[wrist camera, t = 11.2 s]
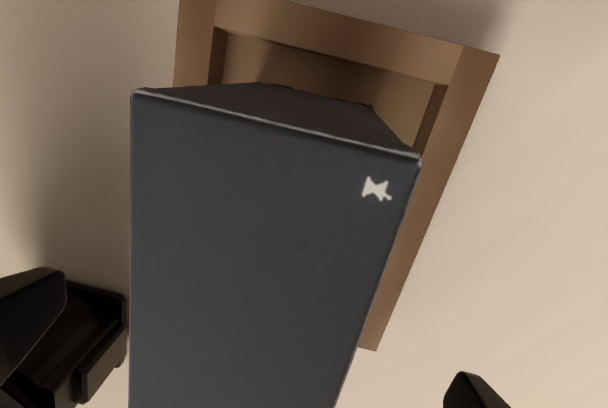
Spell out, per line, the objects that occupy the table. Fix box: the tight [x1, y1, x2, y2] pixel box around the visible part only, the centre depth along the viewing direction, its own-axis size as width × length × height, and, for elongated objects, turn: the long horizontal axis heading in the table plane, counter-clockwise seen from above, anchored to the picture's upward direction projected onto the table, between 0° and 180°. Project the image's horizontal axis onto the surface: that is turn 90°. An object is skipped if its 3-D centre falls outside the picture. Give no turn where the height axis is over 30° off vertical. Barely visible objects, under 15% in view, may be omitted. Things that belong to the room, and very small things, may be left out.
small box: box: [128, 82, 424, 408], centre depth 13 cm, size 11×6×10 cm, turn 168°
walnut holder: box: [173, 0, 500, 351], centre depth 17 cm, size 13×16×3 cm
